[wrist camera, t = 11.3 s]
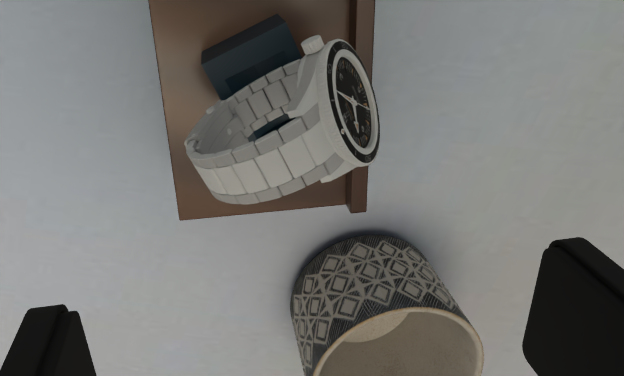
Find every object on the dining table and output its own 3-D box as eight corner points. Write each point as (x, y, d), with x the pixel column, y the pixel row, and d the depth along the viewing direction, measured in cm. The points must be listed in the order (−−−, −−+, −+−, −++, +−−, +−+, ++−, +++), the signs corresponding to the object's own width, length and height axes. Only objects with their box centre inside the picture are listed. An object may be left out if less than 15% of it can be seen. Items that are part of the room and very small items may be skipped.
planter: (264, 327, 45) (279, 428, 36) (328, 207, 41) (364, 286, 32) (385, 358, 49) (426, 455, 40) (454, 252, 45) (517, 333, 36)
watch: (351, 91, 28) (427, 170, 19) (222, 155, 29) (232, 266, 19) (311, -6, 26) (375, 27, 16) (169, 65, 26) (148, 140, 16)
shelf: (152, -84, 30) (132, -92, 22) (335, -84, 32) (379, -92, 24) (184, 167, 37) (178, 231, 29) (332, 155, 39) (366, 212, 31)
